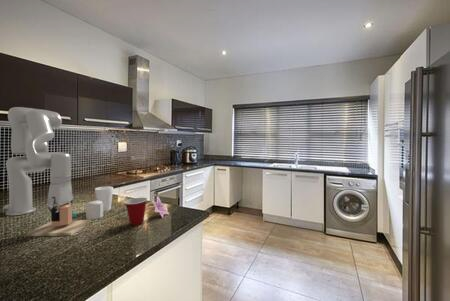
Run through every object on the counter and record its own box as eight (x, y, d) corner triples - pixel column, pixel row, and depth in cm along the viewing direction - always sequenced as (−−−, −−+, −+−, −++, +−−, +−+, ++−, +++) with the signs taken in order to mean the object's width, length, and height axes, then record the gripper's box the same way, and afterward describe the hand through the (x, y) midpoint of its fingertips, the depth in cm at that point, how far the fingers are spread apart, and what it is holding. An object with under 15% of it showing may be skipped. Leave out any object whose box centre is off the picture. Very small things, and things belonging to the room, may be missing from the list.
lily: (151, 223, 111) (160, 207, 111) (140, 210, 118) (149, 195, 118) (167, 223, 121) (176, 208, 121) (156, 211, 128) (165, 197, 128)
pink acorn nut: (47, 226, 97) (47, 208, 97) (59, 220, 104) (58, 203, 104) (64, 225, 97) (64, 208, 97) (75, 219, 105) (74, 203, 104)
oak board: (26, 236, 92) (26, 233, 92) (53, 222, 108) (53, 220, 108) (71, 235, 94) (71, 232, 93) (91, 221, 109) (91, 219, 109)
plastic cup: (128, 219, 113) (128, 196, 113) (150, 219, 114) (150, 196, 114) (120, 227, 102) (120, 202, 102) (144, 227, 103) (144, 202, 103)
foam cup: (105, 212, 124) (105, 190, 123) (91, 211, 125) (91, 189, 125) (116, 207, 133) (116, 186, 132) (103, 206, 135) (103, 186, 134)
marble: (68, 218, 114) (67, 212, 114) (71, 216, 117) (71, 210, 117) (74, 218, 114) (74, 212, 114) (78, 216, 117) (78, 210, 117)
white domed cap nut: (83, 219, 112) (83, 204, 112) (91, 214, 120) (91, 200, 119) (98, 219, 113) (98, 204, 113) (105, 214, 120) (104, 200, 120)
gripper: (65, 176, 108) (65, 212, 109) (37, 183, 91) (38, 225, 92) (80, 177, 109) (81, 211, 110) (56, 183, 92) (57, 224, 92)
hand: (61, 217), depth 101 cm, fingers closed on pink acorn nut, 7 cm apart
